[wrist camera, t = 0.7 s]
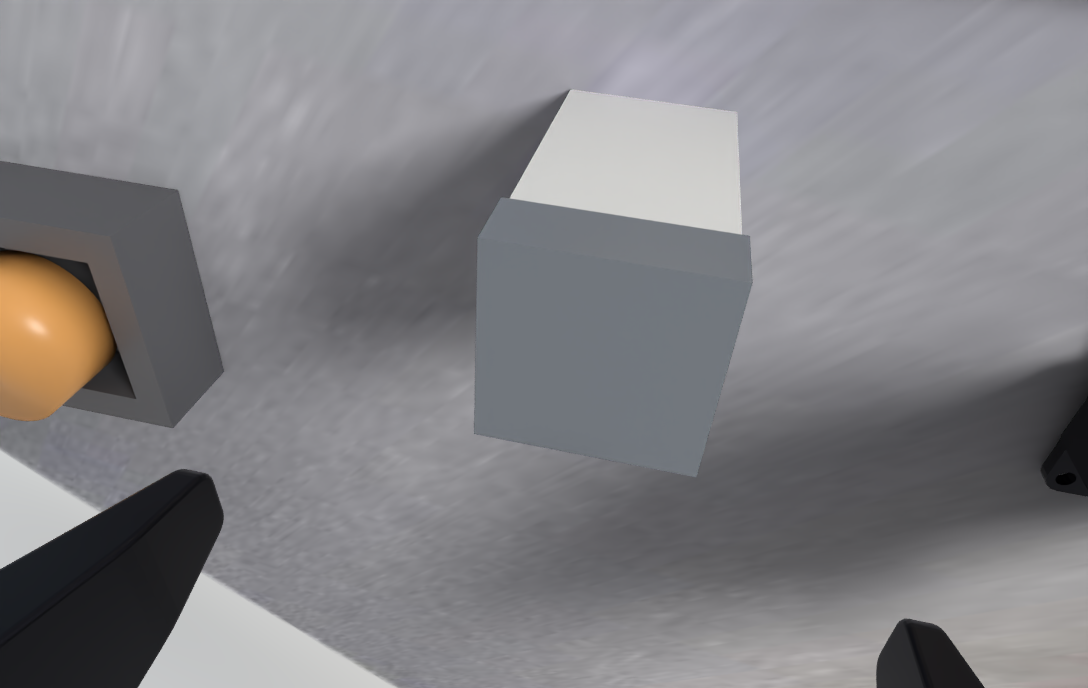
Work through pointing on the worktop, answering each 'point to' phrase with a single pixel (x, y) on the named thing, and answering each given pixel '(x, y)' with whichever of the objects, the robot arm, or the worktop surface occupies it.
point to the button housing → (122, 283)
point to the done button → (47, 336)
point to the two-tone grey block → (614, 284)
